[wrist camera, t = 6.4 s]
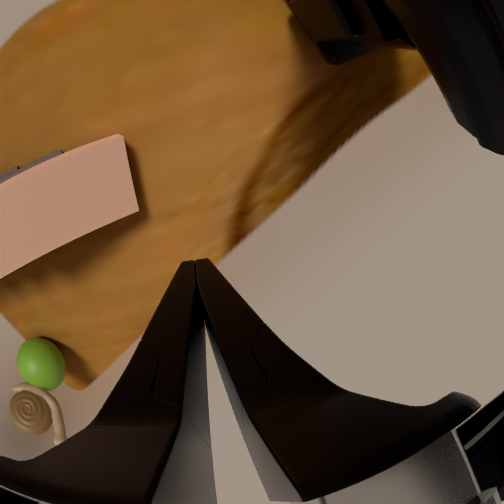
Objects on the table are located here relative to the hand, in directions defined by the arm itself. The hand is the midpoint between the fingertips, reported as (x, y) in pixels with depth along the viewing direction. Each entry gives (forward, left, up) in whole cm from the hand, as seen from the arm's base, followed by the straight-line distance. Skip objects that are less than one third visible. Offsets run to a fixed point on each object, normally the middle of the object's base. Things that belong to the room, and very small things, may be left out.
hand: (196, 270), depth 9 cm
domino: (+3, -2, -8) cm, 9 cm away
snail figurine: (+23, +4, -9) cm, 25 cm away
